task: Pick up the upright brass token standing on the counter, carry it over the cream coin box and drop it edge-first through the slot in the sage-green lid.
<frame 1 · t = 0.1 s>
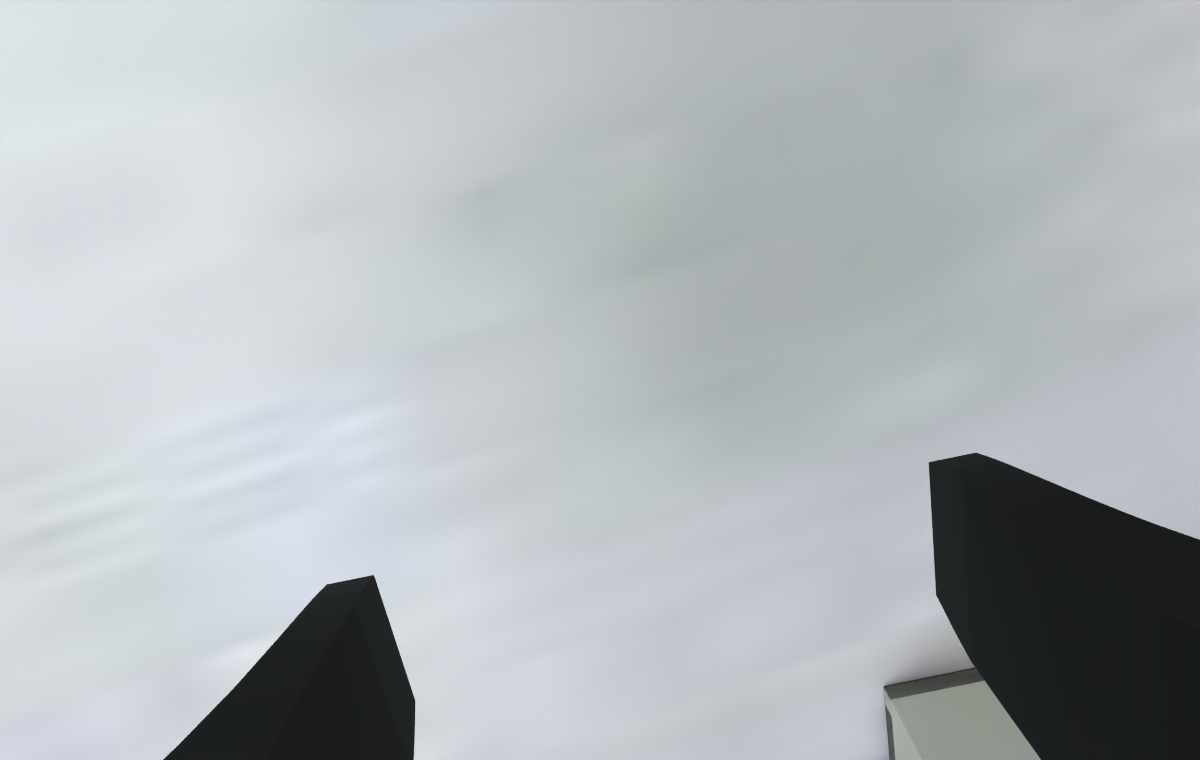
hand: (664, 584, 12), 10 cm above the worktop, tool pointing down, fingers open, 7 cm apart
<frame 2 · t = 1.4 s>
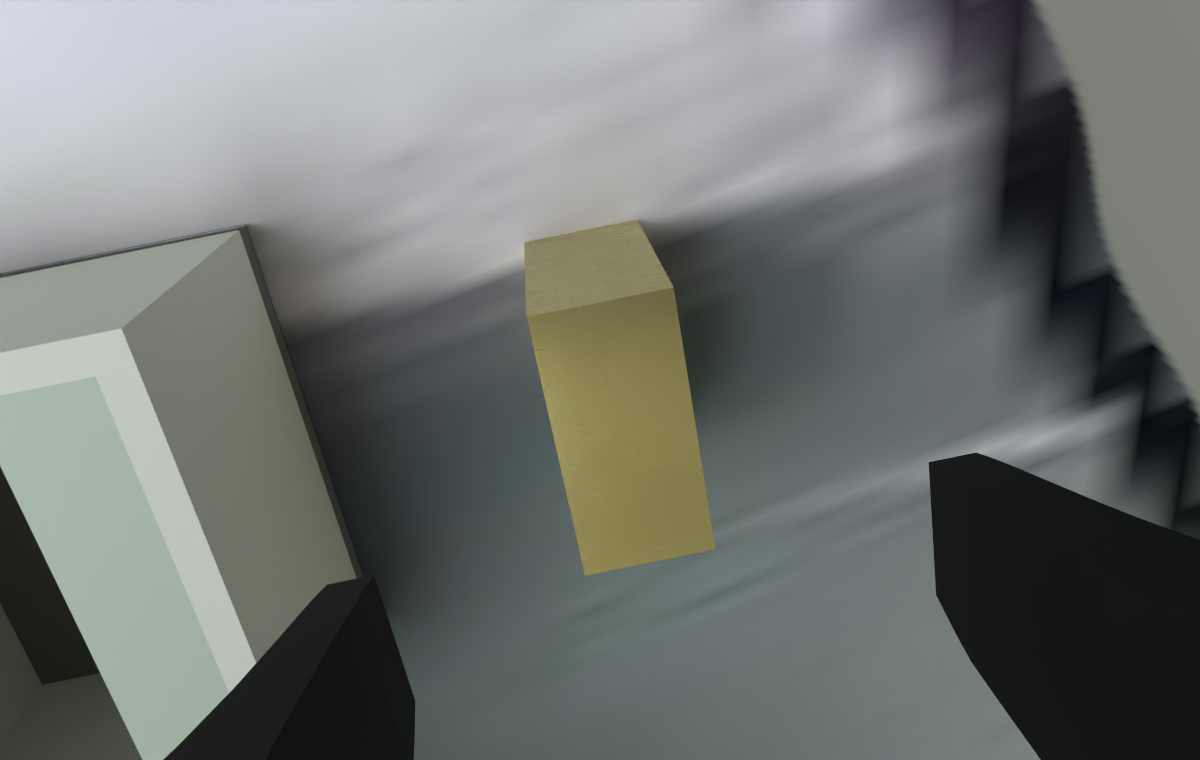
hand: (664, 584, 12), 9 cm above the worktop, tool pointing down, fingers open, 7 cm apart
token: (602, 341, 21), on the worktop
coin box: (132, 481, 21), on the worktop
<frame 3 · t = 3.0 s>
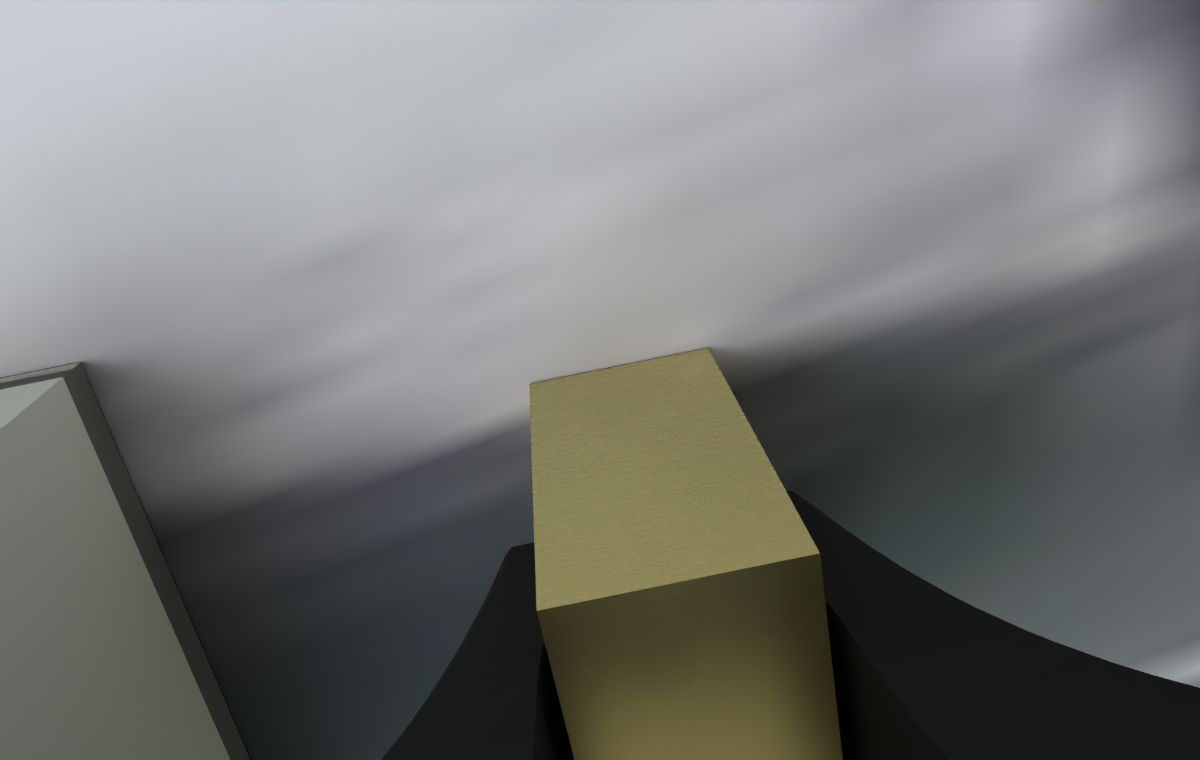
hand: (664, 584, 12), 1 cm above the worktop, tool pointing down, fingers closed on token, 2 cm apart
token: (649, 526, 13), on the worktop, touching gripper
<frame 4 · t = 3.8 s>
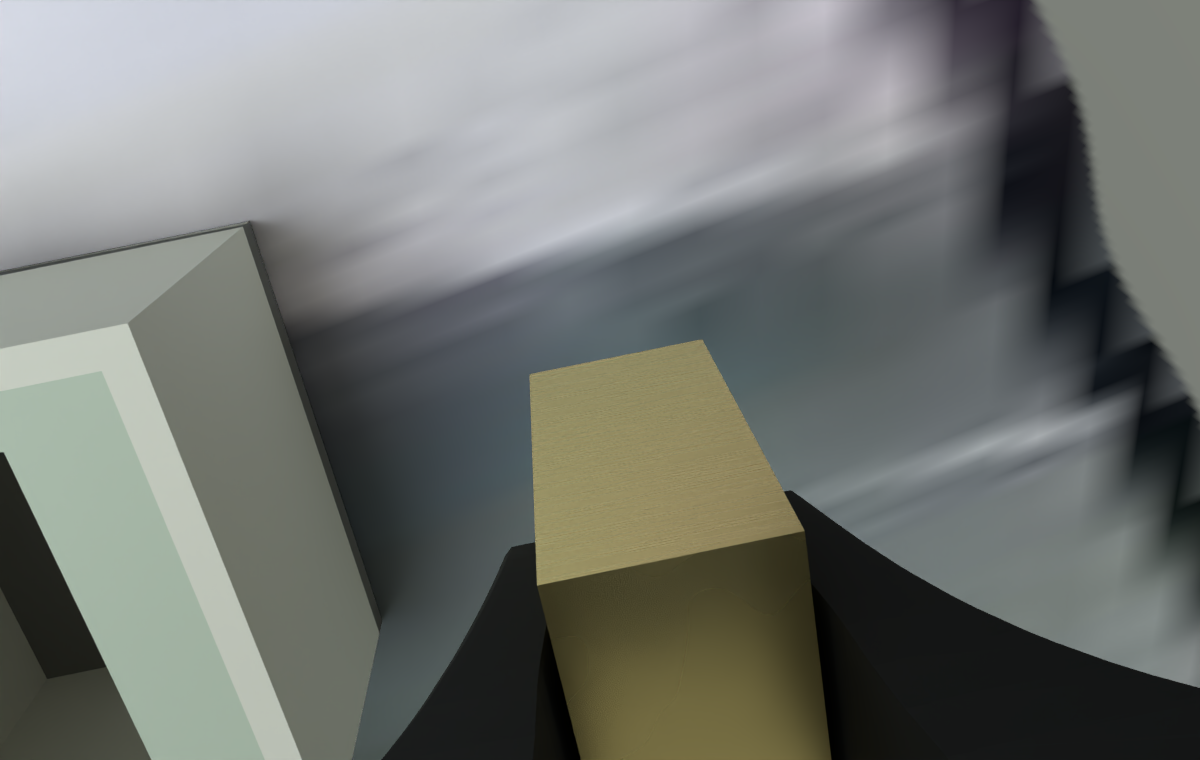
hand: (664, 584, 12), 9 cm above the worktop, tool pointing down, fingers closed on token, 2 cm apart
token: (645, 512, 14), point 7 cm above the worktop, touching gripper
coin box: (136, 476, 21), on the worktop
when the fingers open (8 cm above the worktop, at t = 5.1 s): token drops 5 cm, resting on coin box.
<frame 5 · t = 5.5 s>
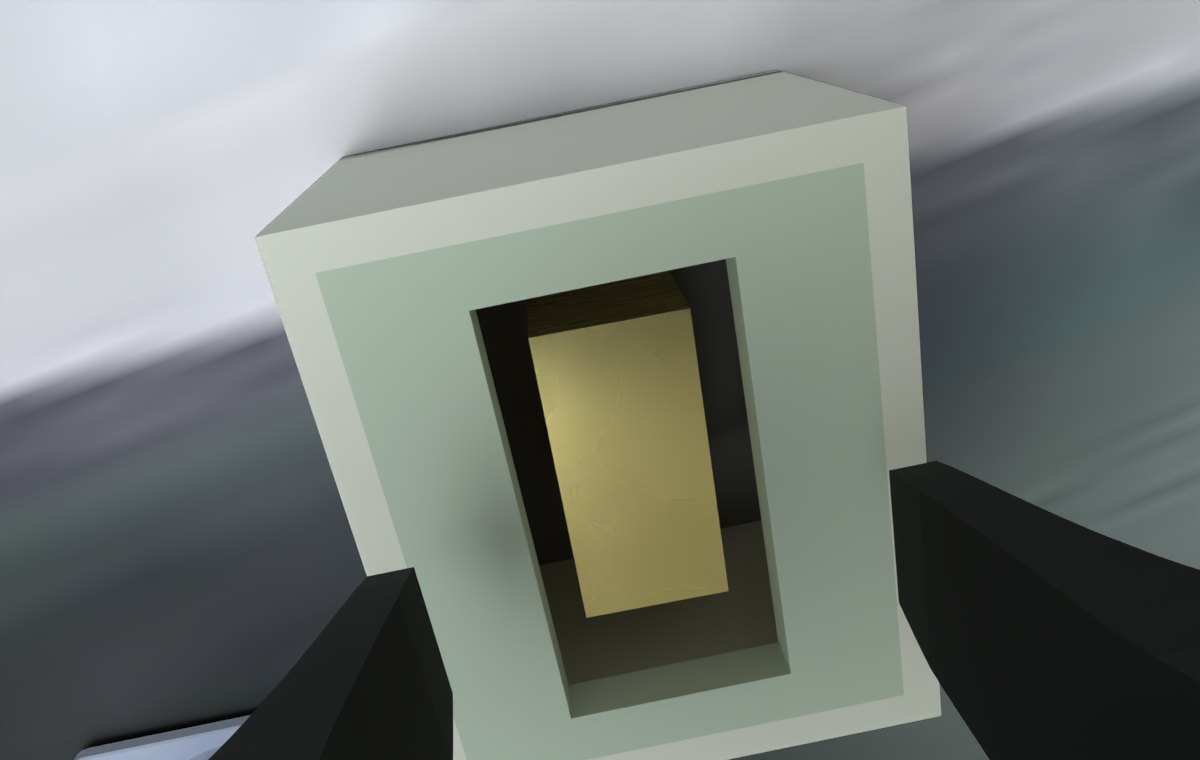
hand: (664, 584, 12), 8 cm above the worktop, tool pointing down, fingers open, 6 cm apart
token: (607, 359, 19), resting on coin box
coin box: (606, 355, 20), on the worktop
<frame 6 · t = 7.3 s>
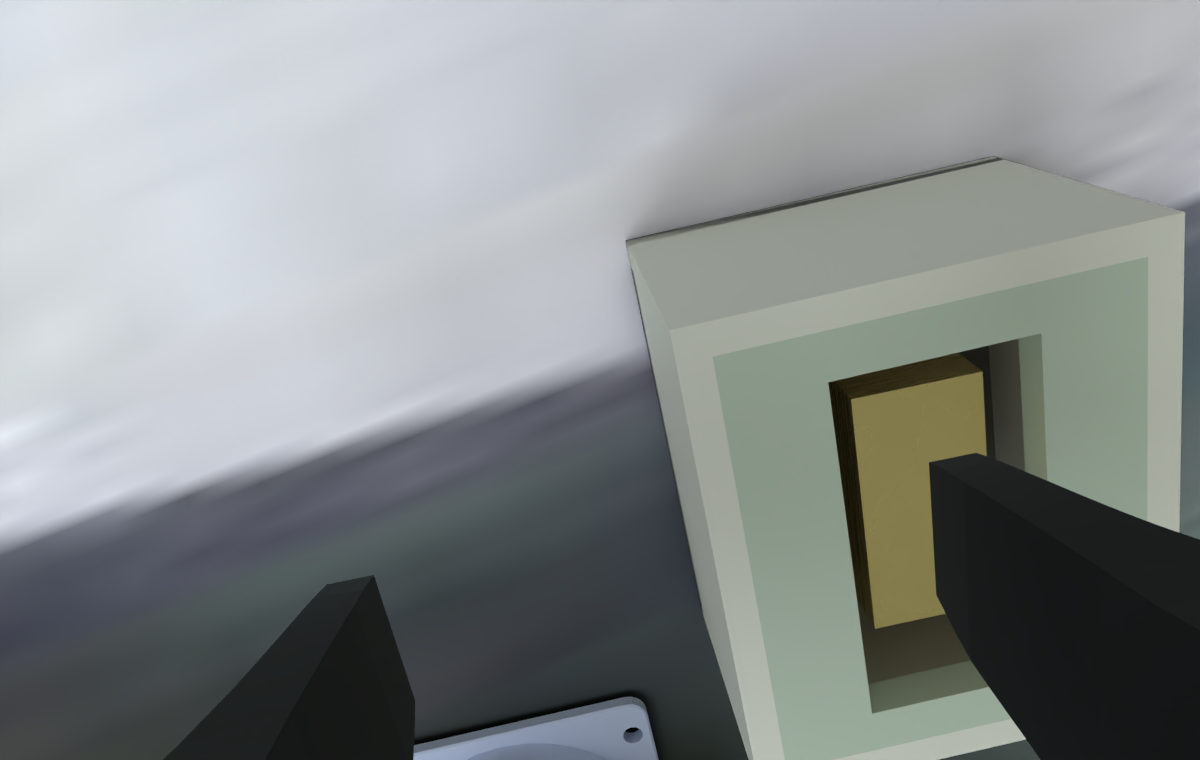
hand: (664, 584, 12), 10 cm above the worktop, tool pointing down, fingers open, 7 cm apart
token: (840, 405, 22), resting on coin box
coin box: (835, 400, 23), on the worktop
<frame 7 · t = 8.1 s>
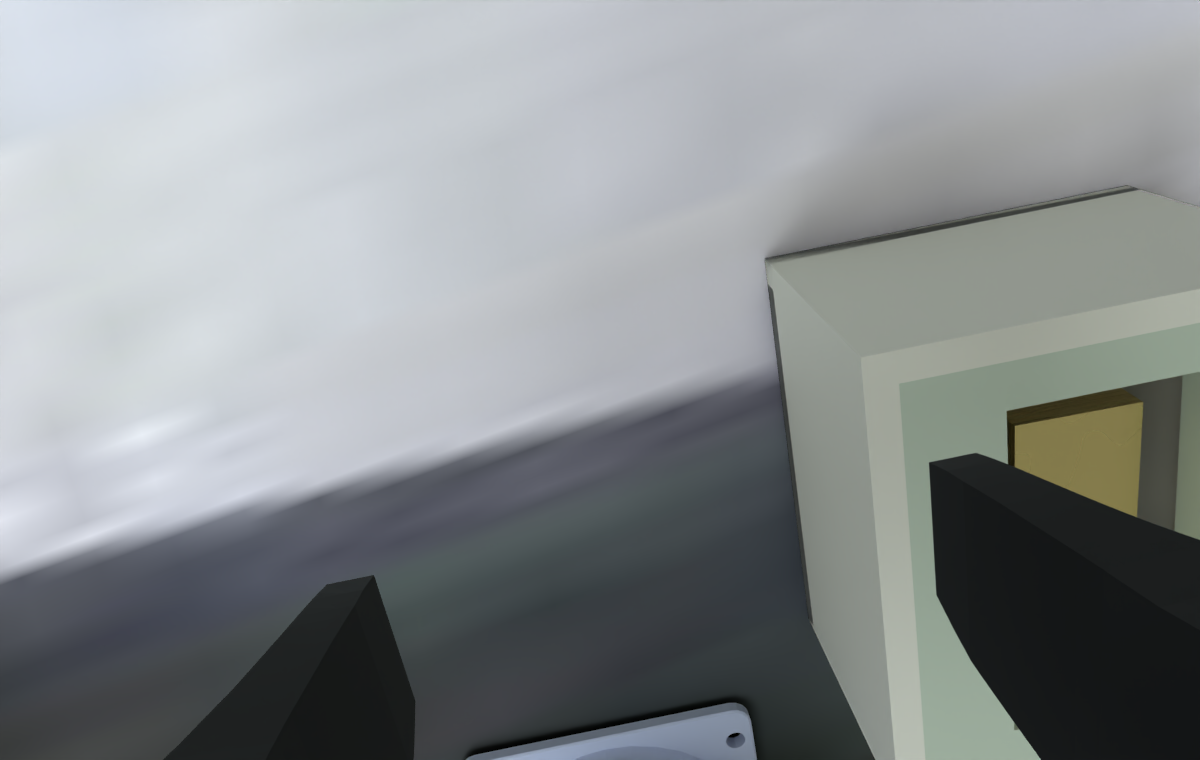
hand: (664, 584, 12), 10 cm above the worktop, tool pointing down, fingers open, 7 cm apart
token: (962, 424, 23), resting on coin box
coin box: (955, 419, 23), on the worktop
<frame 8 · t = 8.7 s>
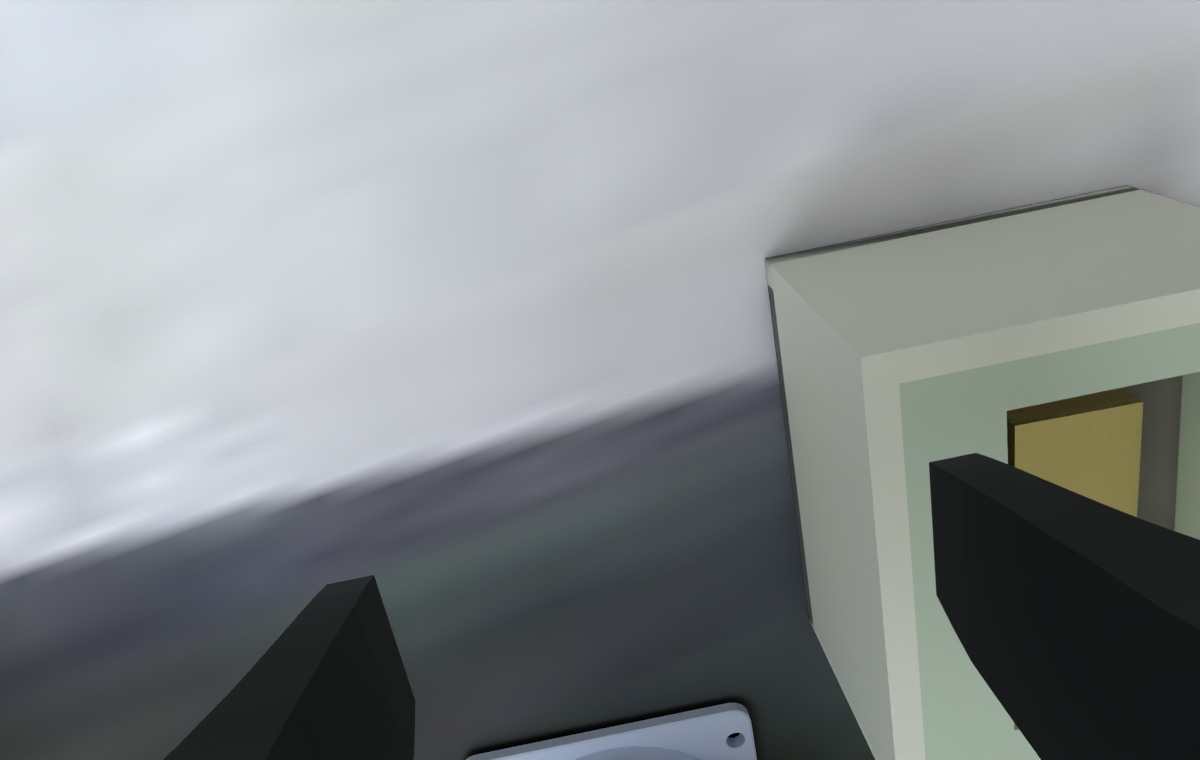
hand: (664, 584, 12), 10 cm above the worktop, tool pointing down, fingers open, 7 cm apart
token: (962, 424, 23), resting on coin box
coin box: (955, 419, 23), on the worktop
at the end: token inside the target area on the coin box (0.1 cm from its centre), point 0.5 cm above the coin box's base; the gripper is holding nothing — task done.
